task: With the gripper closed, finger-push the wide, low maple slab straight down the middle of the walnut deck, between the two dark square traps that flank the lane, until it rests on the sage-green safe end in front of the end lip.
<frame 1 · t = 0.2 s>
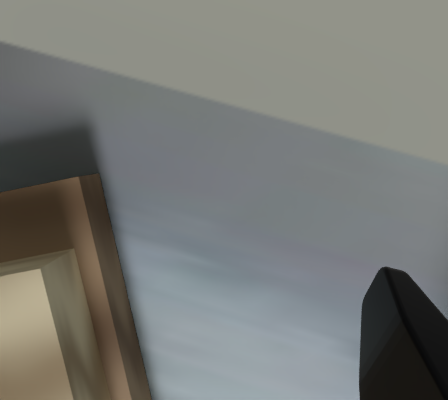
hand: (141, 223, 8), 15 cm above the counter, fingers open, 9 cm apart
maple slab: (47, 352, 21), point 3 cm above the counter, touching trap deck
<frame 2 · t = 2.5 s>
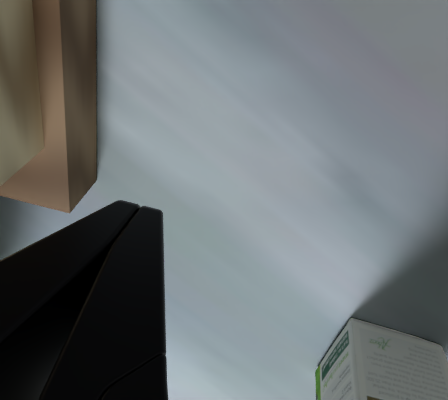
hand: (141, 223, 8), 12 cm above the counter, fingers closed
syrup box: (376, 354, 26), on the counter
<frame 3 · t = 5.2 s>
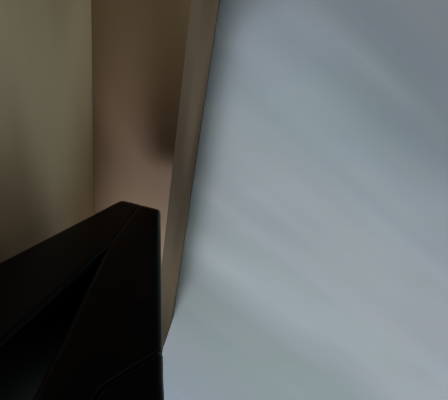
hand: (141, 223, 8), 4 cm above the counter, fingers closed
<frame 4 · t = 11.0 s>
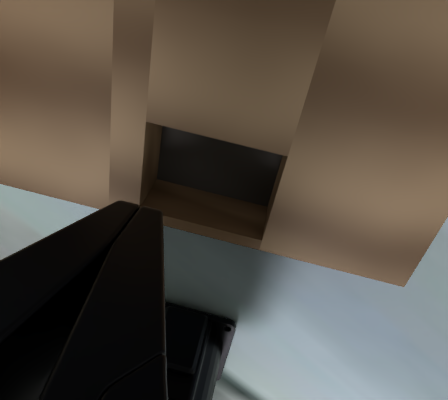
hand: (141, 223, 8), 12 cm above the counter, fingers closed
trap deck: (172, 35, 18), on the counter
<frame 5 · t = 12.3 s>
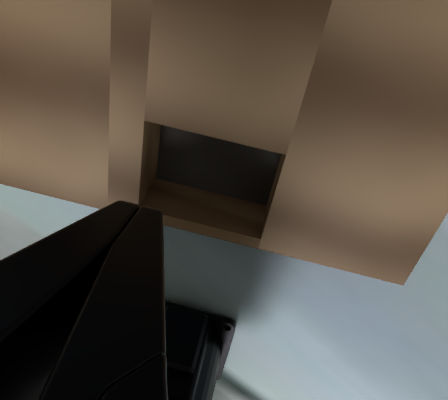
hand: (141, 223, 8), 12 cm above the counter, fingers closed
trap deck: (170, 34, 18), on the counter
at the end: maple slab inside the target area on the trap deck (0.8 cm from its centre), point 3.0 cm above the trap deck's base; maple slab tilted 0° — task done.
